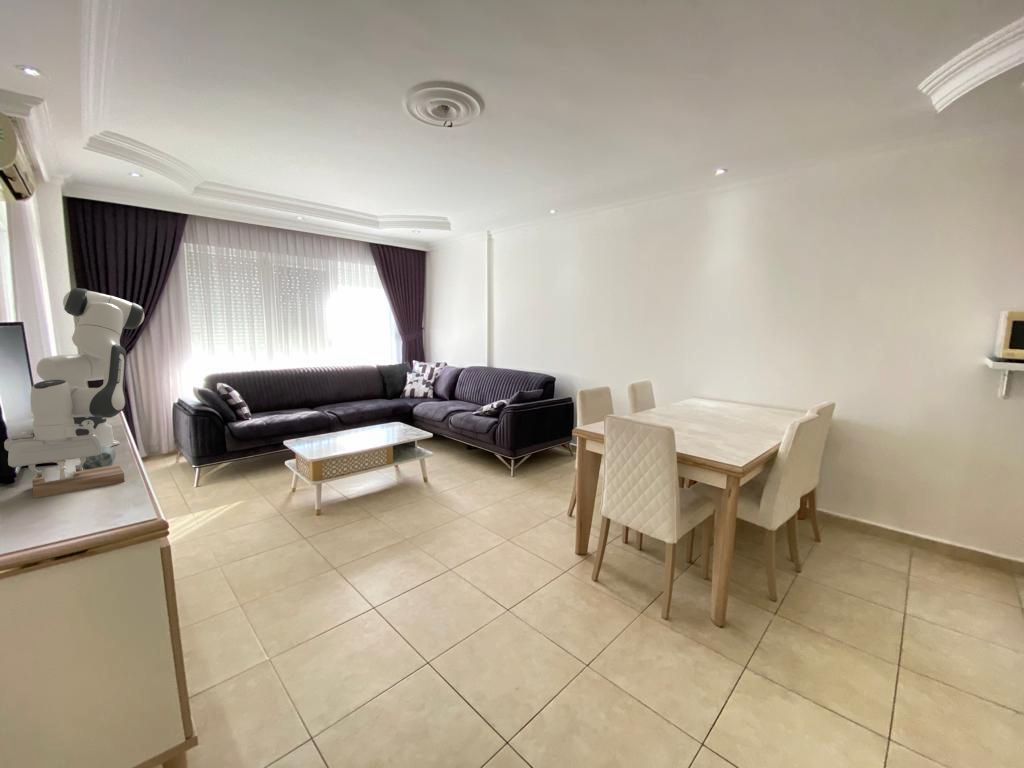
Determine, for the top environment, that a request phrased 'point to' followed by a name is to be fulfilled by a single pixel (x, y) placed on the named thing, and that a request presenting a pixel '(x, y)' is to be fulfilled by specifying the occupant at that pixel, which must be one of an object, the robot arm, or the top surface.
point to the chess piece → (62, 469)
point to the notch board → (78, 481)
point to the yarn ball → (100, 459)
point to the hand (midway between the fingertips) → (59, 474)
